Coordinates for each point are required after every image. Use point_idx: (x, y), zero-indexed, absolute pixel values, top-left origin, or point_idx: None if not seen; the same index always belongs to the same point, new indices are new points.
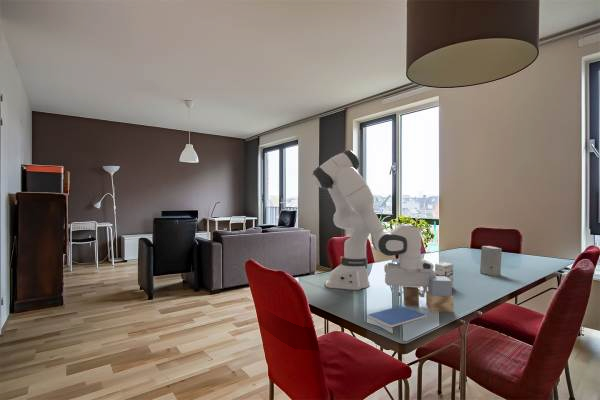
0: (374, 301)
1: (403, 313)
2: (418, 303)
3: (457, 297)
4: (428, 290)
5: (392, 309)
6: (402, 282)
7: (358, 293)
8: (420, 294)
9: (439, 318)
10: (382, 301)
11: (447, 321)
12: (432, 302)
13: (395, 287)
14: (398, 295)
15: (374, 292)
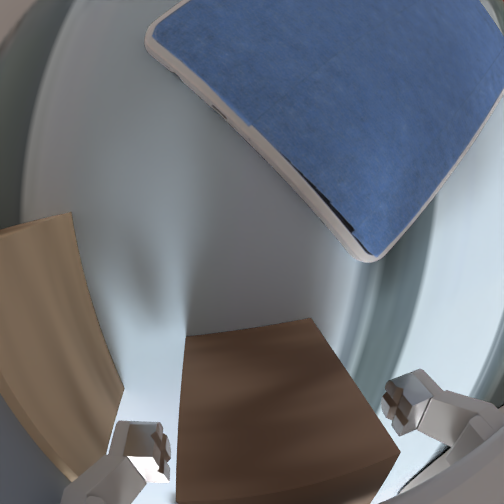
0: (480, 321)
1: (369, 41)
2: (188, 350)
3: None
4: (62, 478)
5: (445, 139)
6: (484, 495)
7: (483, 397)
8: (162, 456)
9: (51, 42)
10: (447, 342)
11: (25, 16)
12: (10, 233)
13: (489, 413)
14: (413, 374)
15: (421, 446)
